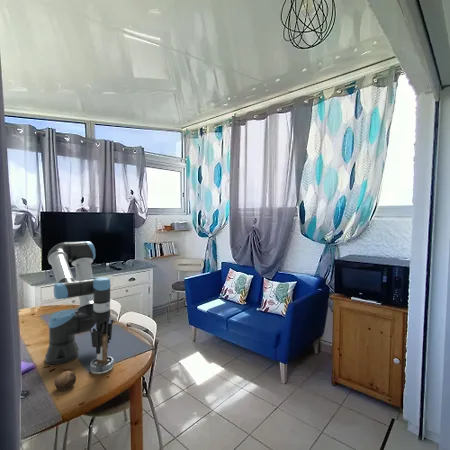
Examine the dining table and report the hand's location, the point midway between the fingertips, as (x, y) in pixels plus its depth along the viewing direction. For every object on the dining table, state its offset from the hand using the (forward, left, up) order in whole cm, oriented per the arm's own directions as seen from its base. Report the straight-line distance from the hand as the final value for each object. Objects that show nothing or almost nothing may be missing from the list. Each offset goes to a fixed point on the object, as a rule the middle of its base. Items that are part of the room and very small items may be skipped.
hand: (102, 357), depth 135 cm
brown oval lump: (-4, -17, -6) cm, 18 cm away
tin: (0, 0, -5) cm, 5 cm away
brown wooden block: (0, 0, -3) cm, 3 cm away
